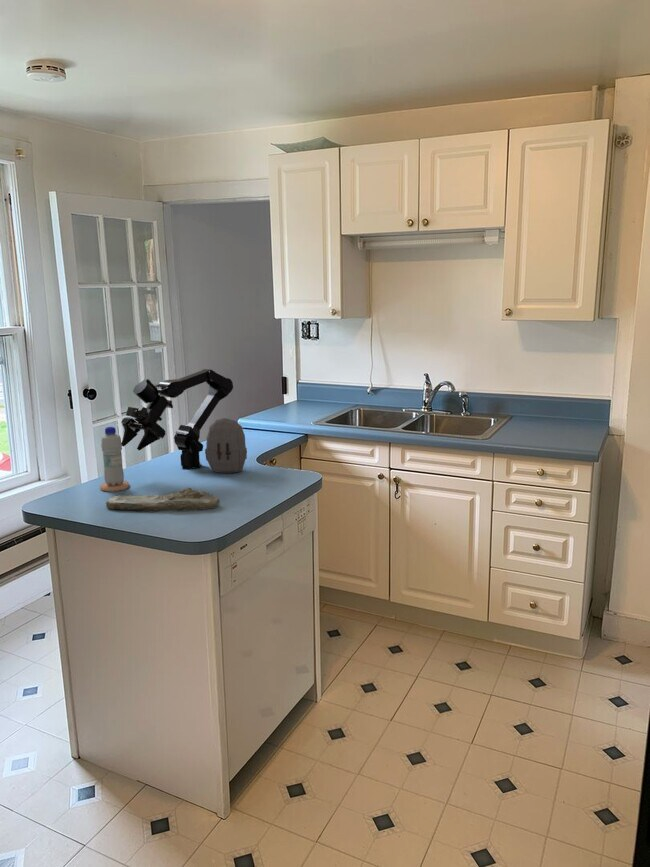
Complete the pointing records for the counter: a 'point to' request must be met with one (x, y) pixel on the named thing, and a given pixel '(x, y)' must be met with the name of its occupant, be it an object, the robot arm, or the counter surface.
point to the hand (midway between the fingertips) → (130, 447)
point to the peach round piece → (114, 488)
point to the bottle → (112, 457)
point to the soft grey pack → (226, 446)
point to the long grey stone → (165, 501)
